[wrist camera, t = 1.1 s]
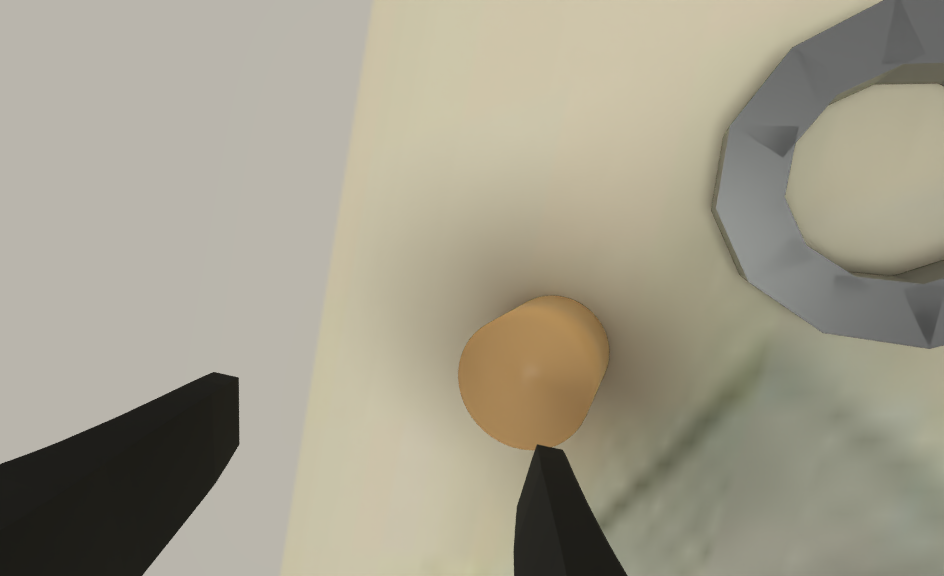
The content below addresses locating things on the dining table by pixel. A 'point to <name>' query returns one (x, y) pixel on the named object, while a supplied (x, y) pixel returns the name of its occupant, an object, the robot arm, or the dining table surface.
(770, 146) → the barrel ring
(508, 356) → the cap
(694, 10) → the dining table surface
